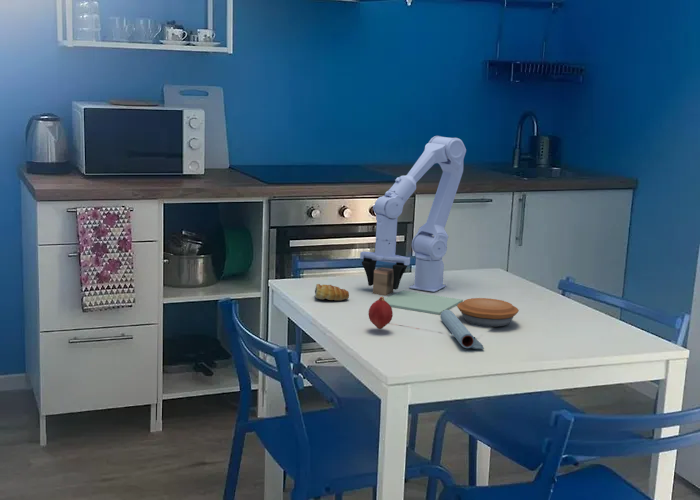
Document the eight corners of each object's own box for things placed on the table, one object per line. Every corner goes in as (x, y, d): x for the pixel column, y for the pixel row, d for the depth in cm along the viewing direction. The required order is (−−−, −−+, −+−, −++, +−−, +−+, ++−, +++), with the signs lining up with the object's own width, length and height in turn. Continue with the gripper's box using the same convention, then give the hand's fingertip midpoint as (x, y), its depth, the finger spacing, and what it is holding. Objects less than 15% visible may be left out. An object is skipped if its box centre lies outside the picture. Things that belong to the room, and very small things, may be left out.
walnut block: (380, 291, 253) (381, 267, 252) (393, 293, 251) (394, 269, 250) (372, 294, 248) (374, 270, 247) (385, 296, 247) (387, 271, 246)
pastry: (347, 297, 243) (348, 283, 243) (350, 302, 236) (351, 288, 236) (313, 295, 242) (314, 281, 241) (315, 300, 235) (315, 286, 235)
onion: (364, 326, 214) (365, 293, 213) (385, 325, 216) (387, 293, 215) (373, 332, 209) (374, 299, 207) (395, 331, 211) (397, 298, 209)
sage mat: (402, 292, 253) (403, 290, 252) (462, 301, 245) (463, 299, 245) (376, 304, 237) (376, 302, 236) (439, 314, 229) (439, 312, 229)
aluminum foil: (439, 322, 223) (440, 309, 222) (465, 323, 224) (466, 309, 223) (459, 348, 201) (460, 333, 200) (488, 348, 201) (489, 334, 201)
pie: (519, 317, 231) (521, 298, 230) (514, 332, 216) (516, 312, 215) (461, 310, 235) (462, 292, 234) (451, 324, 220) (453, 305, 219)
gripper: (356, 238, 247) (353, 285, 249) (404, 244, 240) (401, 293, 243) (367, 235, 253) (364, 281, 255) (414, 241, 247) (411, 288, 249)
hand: (383, 287), depth 249 cm, fingers open, 7 cm apart
